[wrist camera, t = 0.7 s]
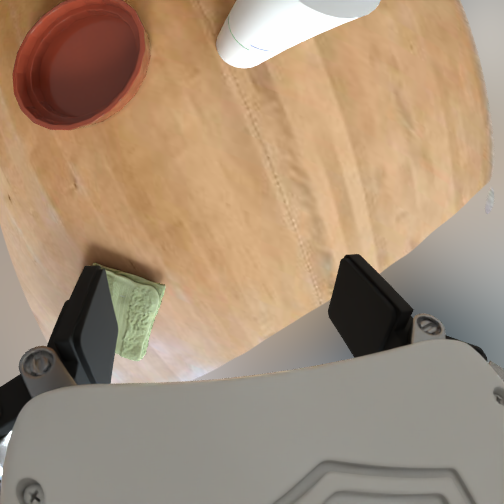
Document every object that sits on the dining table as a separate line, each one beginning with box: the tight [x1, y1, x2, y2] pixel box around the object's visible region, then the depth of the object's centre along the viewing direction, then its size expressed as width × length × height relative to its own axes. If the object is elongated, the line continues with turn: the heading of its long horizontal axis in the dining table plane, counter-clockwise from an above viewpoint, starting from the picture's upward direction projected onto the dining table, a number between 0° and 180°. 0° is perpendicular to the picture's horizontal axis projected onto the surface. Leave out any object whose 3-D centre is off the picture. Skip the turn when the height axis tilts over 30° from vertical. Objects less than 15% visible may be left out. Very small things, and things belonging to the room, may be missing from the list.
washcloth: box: [93, 263, 165, 361], centre depth 44 cm, size 13×18×3 cm
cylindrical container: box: [216, 0, 381, 68], centre depth 21 cm, size 7×7×25 cm
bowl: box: [13, 0, 150, 130], centre depth 25 cm, size 17×17×6 cm
